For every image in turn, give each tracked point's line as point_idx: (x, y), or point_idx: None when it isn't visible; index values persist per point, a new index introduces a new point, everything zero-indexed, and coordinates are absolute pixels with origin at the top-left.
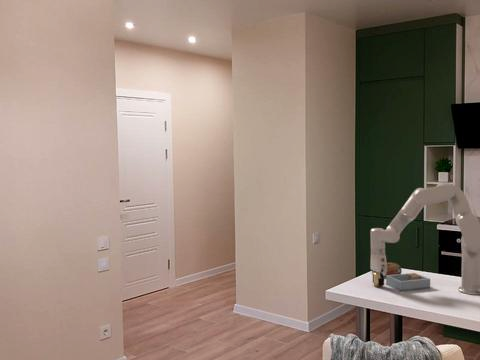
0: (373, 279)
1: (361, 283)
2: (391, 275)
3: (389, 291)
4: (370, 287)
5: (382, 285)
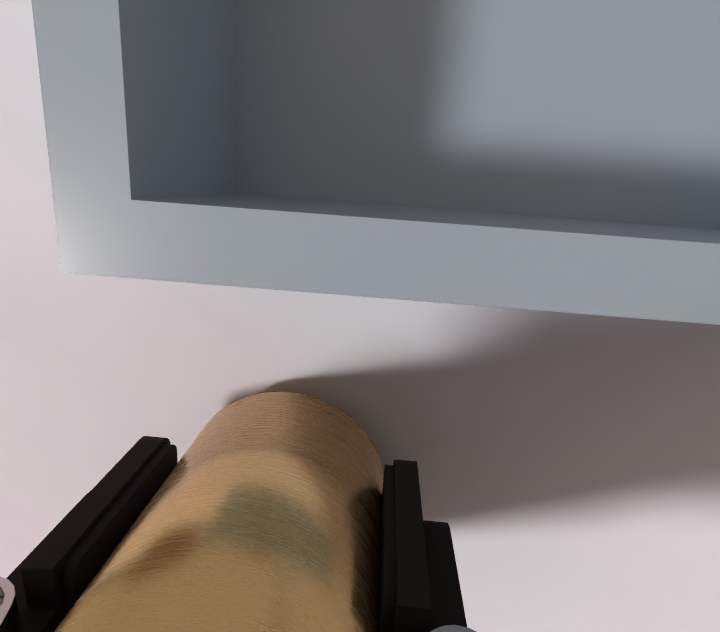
0: None
1: None
2: (112, 36)
3: (674, 487)
4: None
5: (376, 462)
